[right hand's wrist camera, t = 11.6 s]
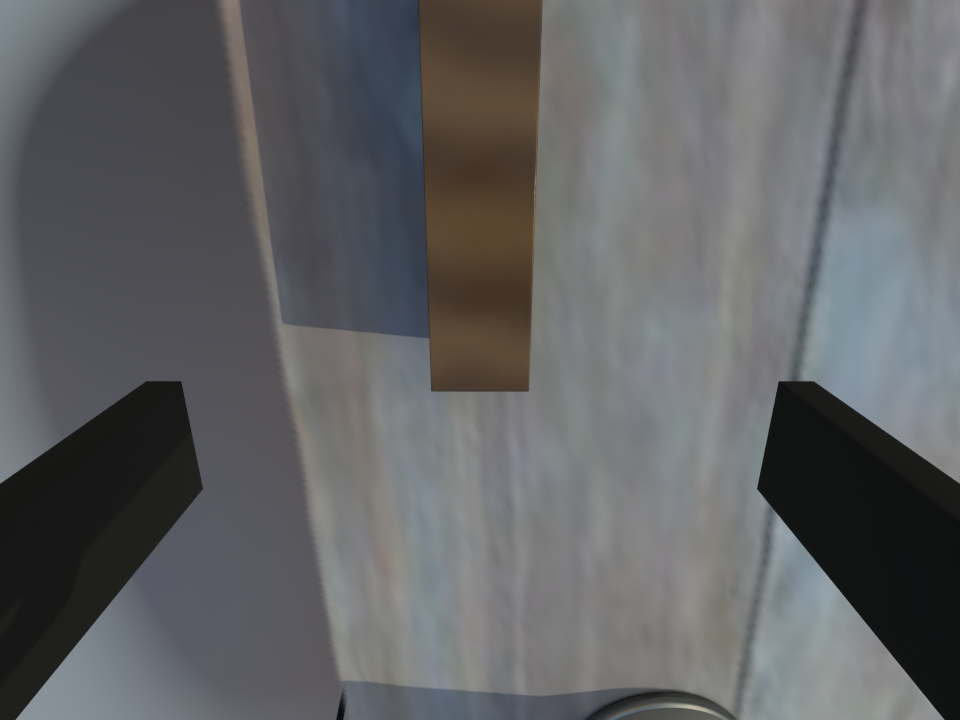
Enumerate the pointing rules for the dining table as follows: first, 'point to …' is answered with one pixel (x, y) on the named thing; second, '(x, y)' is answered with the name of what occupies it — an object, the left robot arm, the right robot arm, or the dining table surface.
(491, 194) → the beam
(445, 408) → the dining table surface
